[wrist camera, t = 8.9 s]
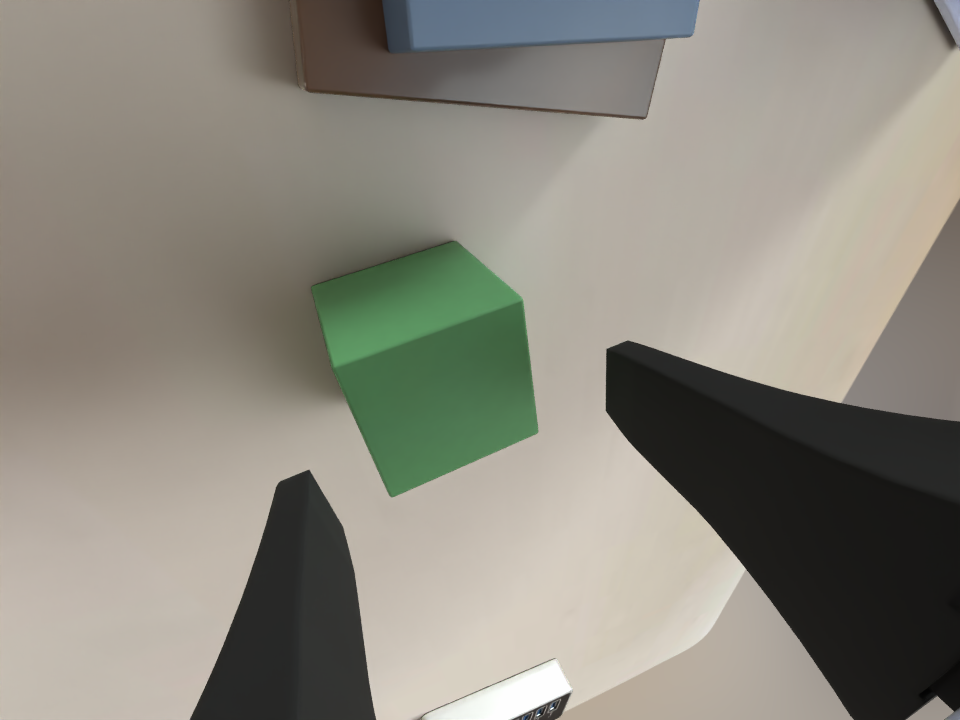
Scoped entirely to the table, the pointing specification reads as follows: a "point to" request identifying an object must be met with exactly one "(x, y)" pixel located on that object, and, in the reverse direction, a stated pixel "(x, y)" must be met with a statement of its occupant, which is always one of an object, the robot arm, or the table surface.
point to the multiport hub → (514, 698)
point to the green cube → (429, 362)
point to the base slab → (468, 67)
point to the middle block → (531, 22)
